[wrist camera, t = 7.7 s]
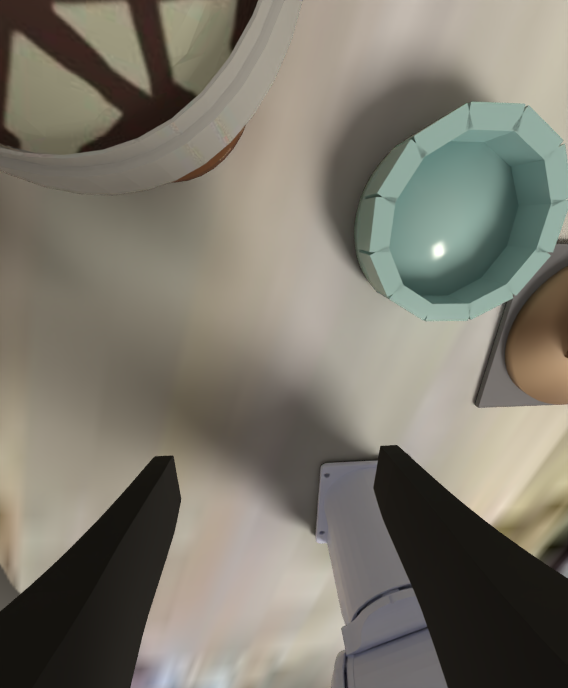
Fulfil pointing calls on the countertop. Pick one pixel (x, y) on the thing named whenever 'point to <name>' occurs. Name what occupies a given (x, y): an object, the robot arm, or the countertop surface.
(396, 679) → the robot arm
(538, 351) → the lid
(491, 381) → the mat
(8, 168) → the food container
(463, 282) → the bowl
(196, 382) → the countertop surface
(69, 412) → the countertop surface
